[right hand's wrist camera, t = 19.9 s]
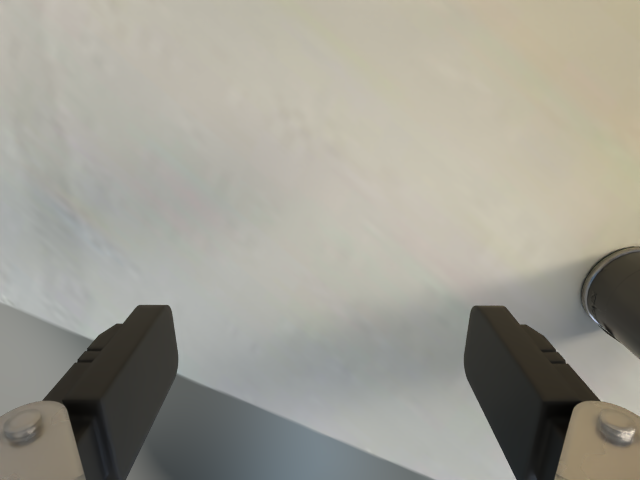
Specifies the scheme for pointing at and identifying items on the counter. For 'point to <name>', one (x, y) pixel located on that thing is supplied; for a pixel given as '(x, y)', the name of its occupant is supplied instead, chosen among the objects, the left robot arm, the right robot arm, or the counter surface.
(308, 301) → the counter surface
